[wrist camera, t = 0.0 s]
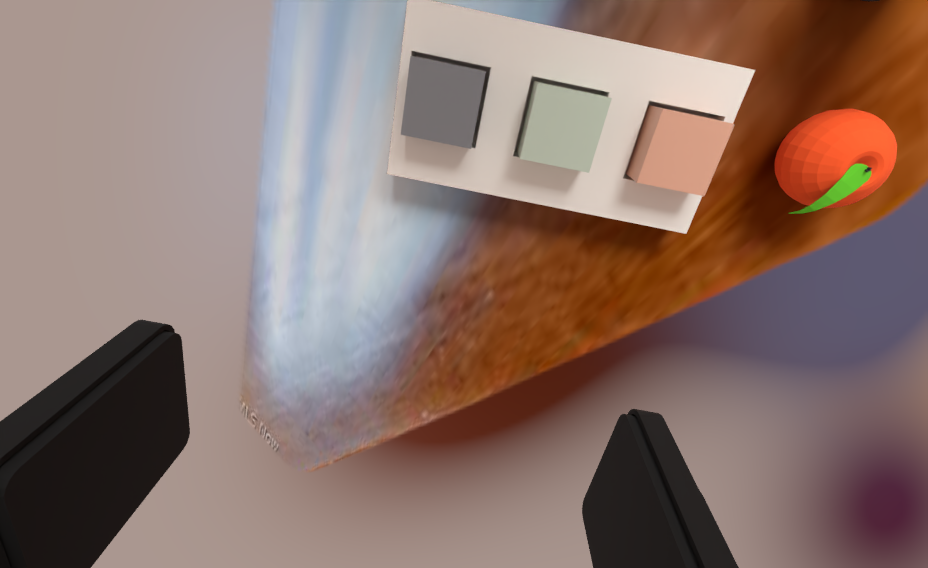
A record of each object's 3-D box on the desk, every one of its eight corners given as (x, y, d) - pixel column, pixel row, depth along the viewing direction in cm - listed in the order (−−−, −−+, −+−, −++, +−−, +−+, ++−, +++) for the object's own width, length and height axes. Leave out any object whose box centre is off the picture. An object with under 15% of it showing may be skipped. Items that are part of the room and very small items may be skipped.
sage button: (534, 81, 33) (538, 82, 31) (601, 95, 34) (611, 98, 31) (517, 151, 36) (519, 158, 33) (581, 164, 36) (589, 172, 33)
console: (414, 0, 34) (407, -5, 31) (734, 69, 35) (755, 70, 32) (394, 166, 39) (386, 174, 36) (672, 222, 40) (686, 233, 37)
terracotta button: (648, 105, 34) (662, 109, 31) (715, 119, 34) (734, 124, 31) (625, 173, 36) (636, 182, 33) (688, 186, 36) (704, 196, 33)
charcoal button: (416, 56, 33) (410, 55, 30) (486, 70, 33) (485, 71, 31) (407, 128, 35) (400, 134, 33) (472, 142, 35) (471, 148, 33)
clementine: (786, 220, 39) (844, 252, 33) (727, 174, 38) (775, 197, 31) (870, 138, 36) (952, 155, 30) (809, 85, 35) (882, 90, 28)
